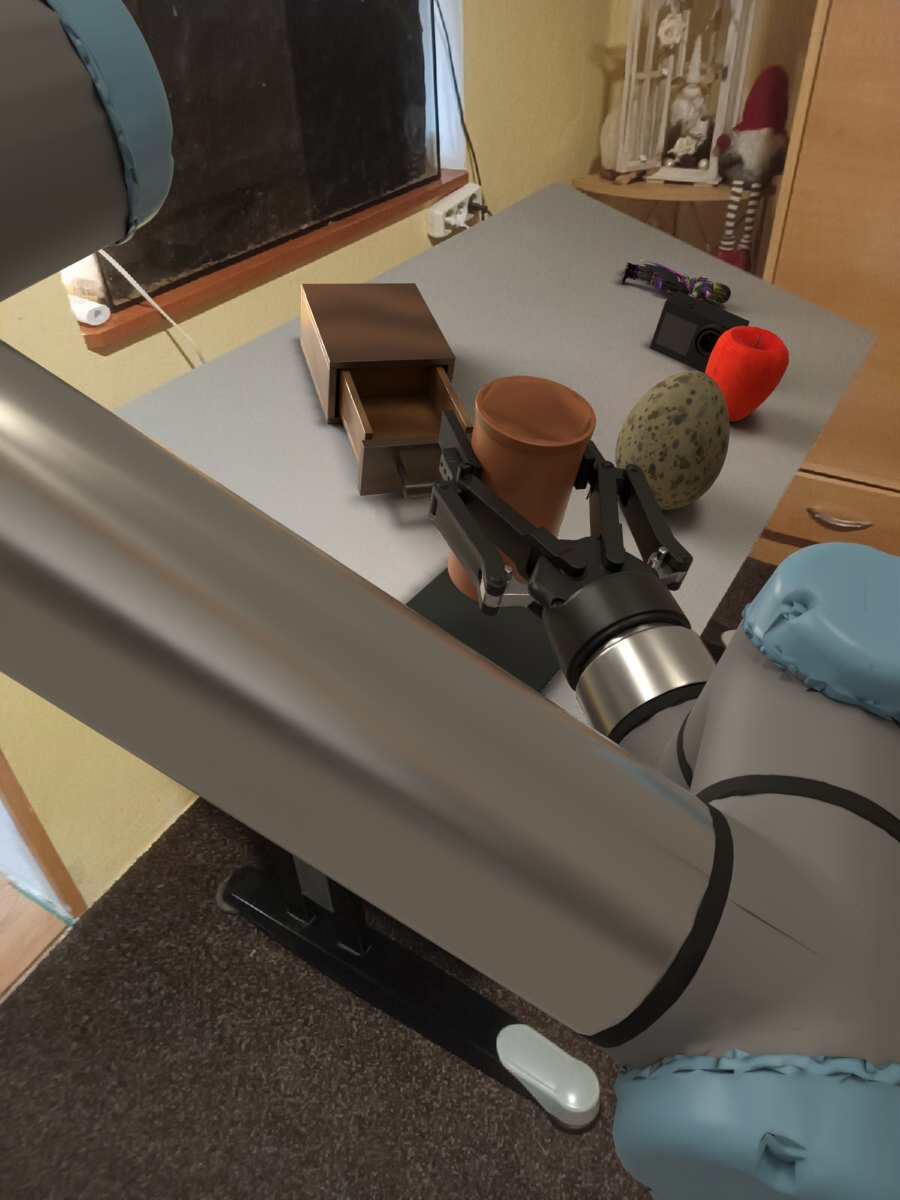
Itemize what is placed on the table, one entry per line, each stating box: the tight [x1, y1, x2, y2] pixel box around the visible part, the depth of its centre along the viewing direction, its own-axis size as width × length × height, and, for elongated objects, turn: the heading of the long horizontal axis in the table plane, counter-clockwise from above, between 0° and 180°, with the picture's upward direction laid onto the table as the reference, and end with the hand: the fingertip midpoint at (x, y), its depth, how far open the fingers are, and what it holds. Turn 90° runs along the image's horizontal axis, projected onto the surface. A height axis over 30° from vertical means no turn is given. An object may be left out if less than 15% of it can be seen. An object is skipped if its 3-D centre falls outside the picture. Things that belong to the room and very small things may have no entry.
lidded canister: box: [447, 375, 597, 607], centre depth 59 cm, size 8×8×15 cm
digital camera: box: [649, 291, 750, 373], centre depth 108 cm, size 10×5×7 cm, turn 55°
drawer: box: [335, 365, 474, 499], centre depth 84 cm, size 20×12×6 cm, turn 17°
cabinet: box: [299, 282, 457, 425], centre depth 94 cm, size 17×14×8 cm
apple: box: [705, 325, 790, 423], centre depth 99 cm, size 9×9×11 cm
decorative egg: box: [614, 370, 731, 511], centre depth 83 cm, size 11×11×15 cm
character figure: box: [620, 258, 732, 305], centre depth 123 cm, size 9×4×16 cm
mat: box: [404, 566, 561, 694], centre depth 71 cm, size 14×12×1 cm
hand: (499, 423), depth 60 cm, fingers closed on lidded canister, 8 cm apart
